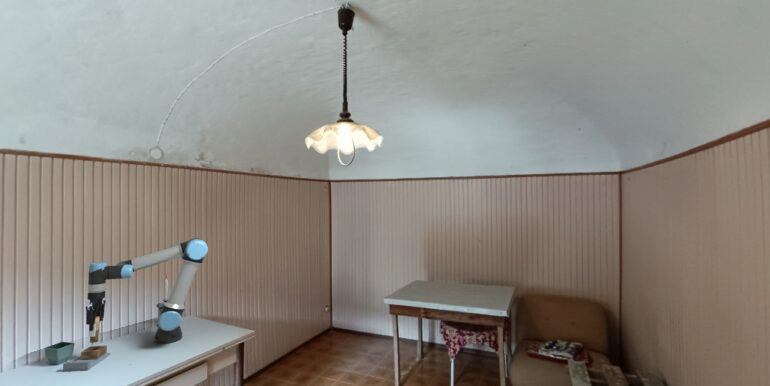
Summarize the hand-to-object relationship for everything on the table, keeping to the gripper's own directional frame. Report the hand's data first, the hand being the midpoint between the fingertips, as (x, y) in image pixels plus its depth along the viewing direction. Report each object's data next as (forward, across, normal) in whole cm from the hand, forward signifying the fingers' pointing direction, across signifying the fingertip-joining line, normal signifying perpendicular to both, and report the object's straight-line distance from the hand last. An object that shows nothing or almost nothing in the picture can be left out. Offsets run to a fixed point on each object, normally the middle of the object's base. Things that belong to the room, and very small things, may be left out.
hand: (94, 334), depth 194 cm
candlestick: (+13, -55, +13) cm, 58 cm away
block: (+11, 0, 0) cm, 11 cm away
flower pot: (+13, +2, -15) cm, 20 cm away
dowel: (+4, 0, 0) cm, 4 cm away
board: (+13, +5, 0) cm, 14 cm away
